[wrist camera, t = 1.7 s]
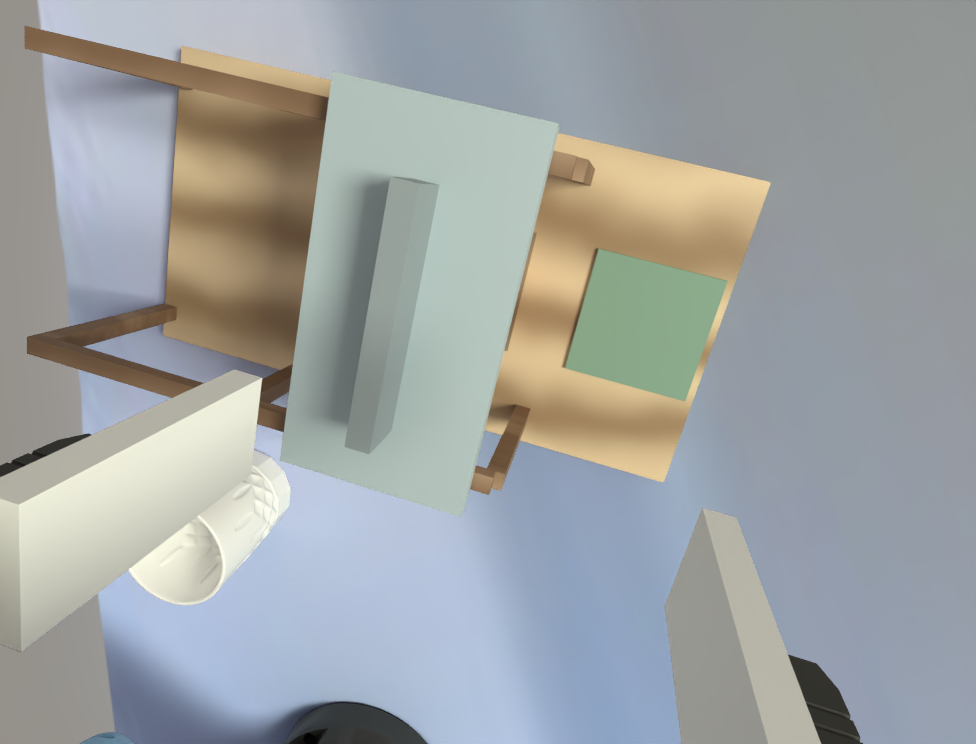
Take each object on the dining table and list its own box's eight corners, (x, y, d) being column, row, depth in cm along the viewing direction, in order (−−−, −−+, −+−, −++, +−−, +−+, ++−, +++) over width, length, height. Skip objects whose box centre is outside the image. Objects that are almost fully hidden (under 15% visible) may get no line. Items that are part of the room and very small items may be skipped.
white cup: (210, 431, 50) (115, 486, 40) (301, 452, 48) (226, 515, 39) (208, 517, 52) (118, 588, 42) (295, 539, 51) (223, 618, 41)
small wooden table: (662, 474, 43) (680, 581, 31) (173, 332, 48) (27, 377, 36) (765, 182, 37) (838, 176, 25) (193, 49, 41) (24, -9, 30)
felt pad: (684, 400, 40) (685, 401, 40) (565, 367, 41) (564, 368, 41) (726, 280, 38) (727, 281, 38) (598, 248, 39) (598, 248, 38)
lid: (465, 507, 32) (445, 548, 29) (289, 452, 33) (248, 485, 30) (559, 126, 26) (550, 114, 23) (342, 75, 28) (298, 57, 24)
